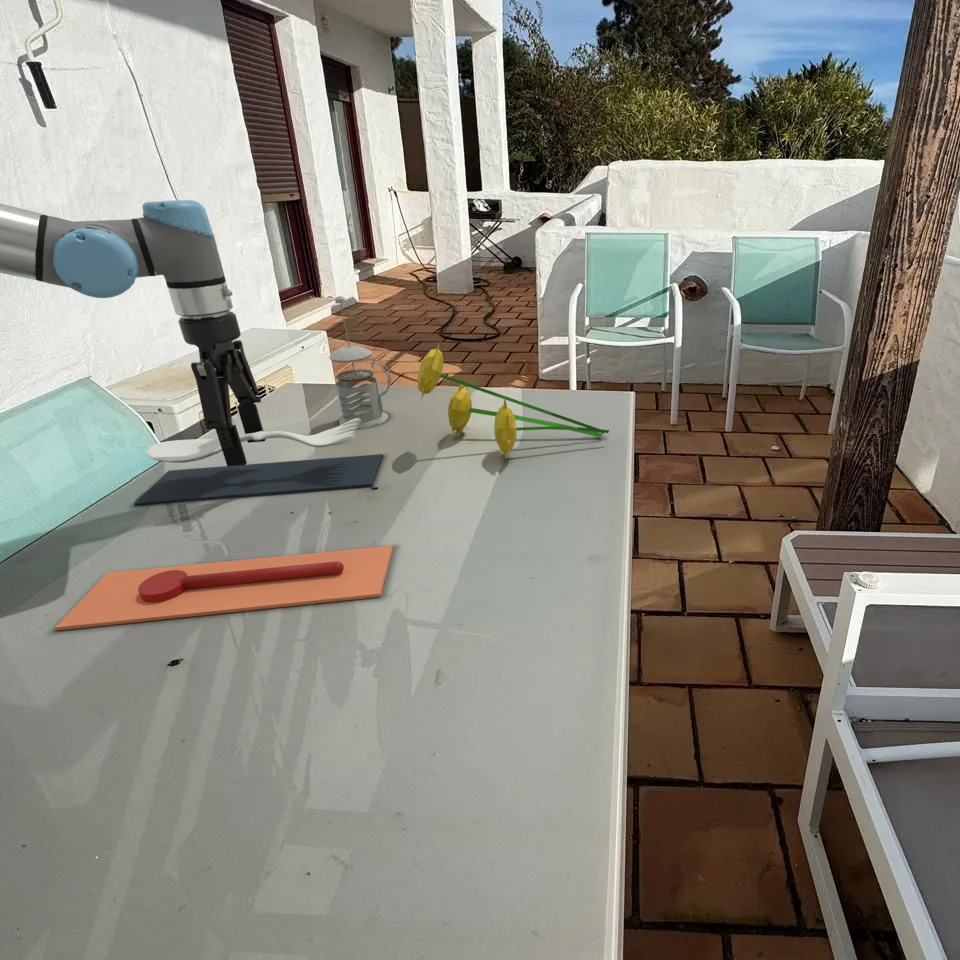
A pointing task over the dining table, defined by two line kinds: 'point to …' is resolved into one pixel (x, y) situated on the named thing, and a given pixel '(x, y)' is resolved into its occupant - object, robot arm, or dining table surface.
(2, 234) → the robot arm
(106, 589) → the terracotta mat
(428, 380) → the flowers
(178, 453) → the white spork
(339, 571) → the red spoon
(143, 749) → the dining table surface
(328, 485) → the slate mat
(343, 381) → the french press
